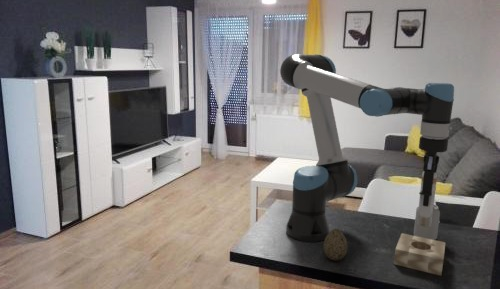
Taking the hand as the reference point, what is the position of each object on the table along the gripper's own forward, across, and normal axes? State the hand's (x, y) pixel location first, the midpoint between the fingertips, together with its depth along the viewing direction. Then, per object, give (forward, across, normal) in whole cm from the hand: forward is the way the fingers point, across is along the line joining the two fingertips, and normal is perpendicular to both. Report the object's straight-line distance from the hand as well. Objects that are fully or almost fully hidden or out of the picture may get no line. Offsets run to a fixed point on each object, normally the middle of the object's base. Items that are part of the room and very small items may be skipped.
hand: (425, 212), depth 117 cm
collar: (+16, 0, 0) cm, 16 cm away
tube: (+4, 0, 0) cm, 4 cm away
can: (+16, +19, 0) cm, 25 cm away
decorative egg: (+16, -13, +23) cm, 31 cm away
